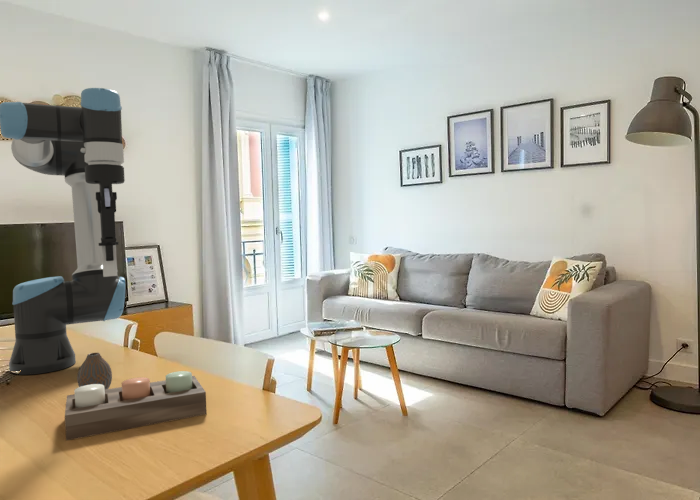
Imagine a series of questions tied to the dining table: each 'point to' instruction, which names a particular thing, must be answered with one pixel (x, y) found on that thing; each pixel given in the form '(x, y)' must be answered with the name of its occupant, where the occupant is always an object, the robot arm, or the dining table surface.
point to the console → (133, 410)
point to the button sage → (178, 381)
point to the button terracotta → (135, 388)
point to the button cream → (89, 395)
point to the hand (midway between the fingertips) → (110, 275)
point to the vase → (94, 371)
